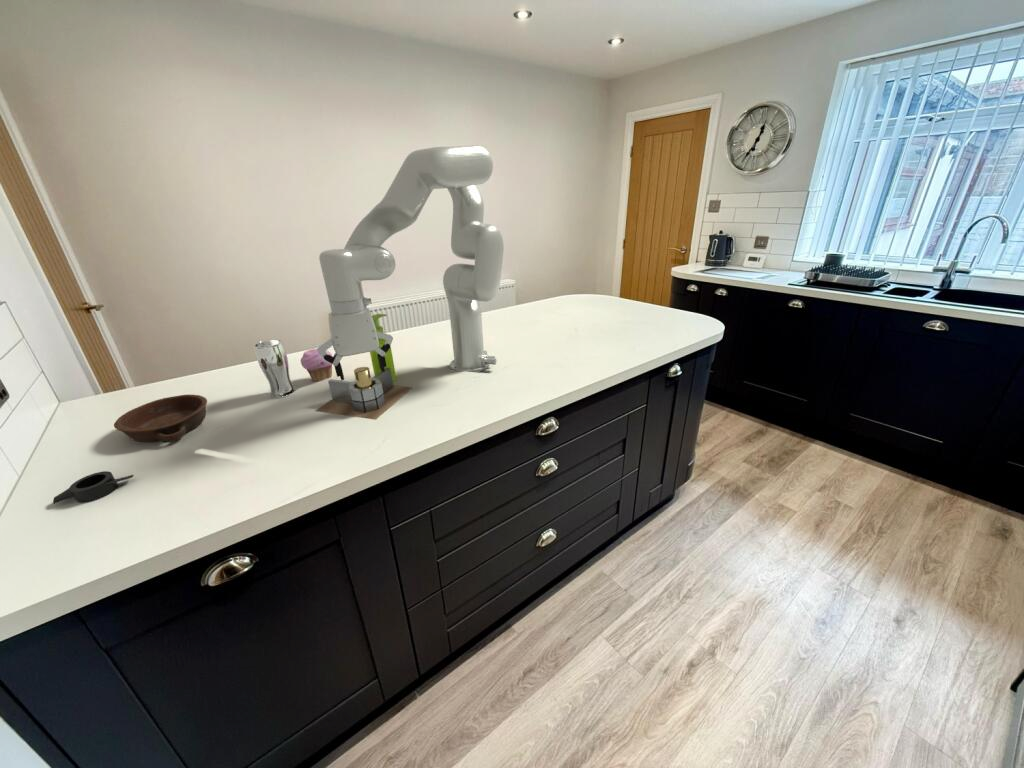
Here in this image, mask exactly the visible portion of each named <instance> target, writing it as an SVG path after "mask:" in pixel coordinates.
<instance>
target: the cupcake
mask: <svg viewBox="0 0 1024 768" xmlns="http://www.w3.org/2000/svg"><path fill="white" fill-rule="evenodd" d="M325 352H326V353H327V354H329V355H331V356H332V357H333V356H334V355H333V353H331V352H330V351H329V350H328V349H327V350H326V351H325ZM300 365H301V367H302V368H303V369H305V370H306V371H307V373H308V374H309V377H310V379H311V380H312V381H314V382H315V383H317V382H322V381H325V380H326V379H327V380H328V379H330V378H331V377H332V375H333V364H332V363H330V362H328V361H326V360H325V359H324V358H323V357H322V356H321V355H320V354H319V353H318V352H317V348H312V349H309V350H306V351H304V352H303V354H302V357H301V359H300Z"/></svg>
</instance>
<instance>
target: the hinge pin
mask: <svg viewBox="0 0 1024 768" xmlns="http://www.w3.org/2000/svg"><path fill="white" fill-rule="evenodd" d="M353 372H354V377H355V378H354V379H355V381H356V383H357V388H358V389H365V388H369V387H372V386H373V385H372V380H371V378H372V377H371V372H370V367H367V366H360V367H356V368H355V369H354V370H353Z"/></svg>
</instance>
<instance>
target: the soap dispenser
mask: <svg viewBox="0 0 1024 768" xmlns="http://www.w3.org/2000/svg"><path fill="white" fill-rule="evenodd" d="M384 317H387V314H385V313H377V314H373V315H372V318H373V321H374V324H375V328H376V331H378V332H382V333H385V332H384V328H383V326H382V325H381V326H380V323H379V319H381V318H384ZM378 340H379V347H381V348H382V346H383V345H384V344H385V341H386V340H385V339H382V338H378ZM369 354H370V359H371V364H372V369H373V375H374V376H376V375H377V374H378V373H380V372H381V369H380V367H379V362H378V357H377V354H378V353H377V352H376V351H371V352H369ZM385 361H386V367H384V369H386V368H390V369H391V375H392V380H393V381H395V380H396V379H397V376H396V369H395V364H394V363H395V362H394V357H393V352H392V344H391V345H390V349H389V350H388V351H387V353H386V355H385Z"/></svg>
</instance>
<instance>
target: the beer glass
mask: <svg viewBox="0 0 1024 768" xmlns="http://www.w3.org/2000/svg"><path fill="white" fill-rule="evenodd" d="M253 347H254V352H255V356H256V359H257V362H258V364H259V367H260V369H261V371H262V373H263V375H264V376H265V378H266V380H267V382H268V384H269V387H270V395H271V397H272V396H273V397H272V398H274V397H281V398H283V397H282V396H286V395H288V396H289V394H290V395H291V394H294V393H295V392H296V388H295V387H294V386H295V385H294V384H293V383H292V380H291V375H290V365H289V360H288V359H289V358H288V355H287V352H286V349H285V347H284V344H283V341H282V339H277V338H275V339H266V340H262V341H261V340H260V341H258V342H256V343H254V344H253ZM294 391H295V392H294ZM286 397H287V396H286Z"/></svg>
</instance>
